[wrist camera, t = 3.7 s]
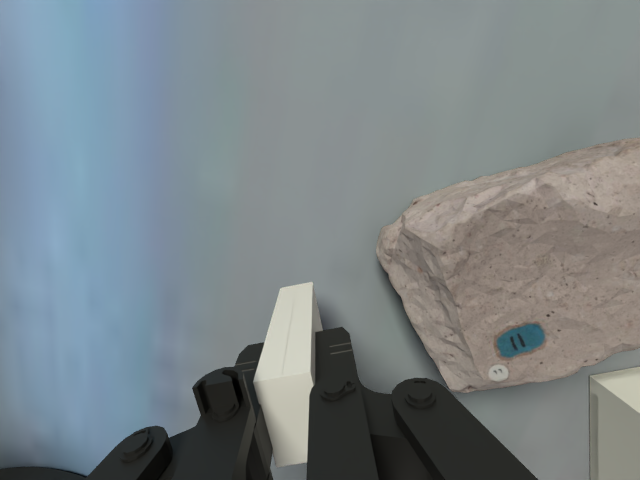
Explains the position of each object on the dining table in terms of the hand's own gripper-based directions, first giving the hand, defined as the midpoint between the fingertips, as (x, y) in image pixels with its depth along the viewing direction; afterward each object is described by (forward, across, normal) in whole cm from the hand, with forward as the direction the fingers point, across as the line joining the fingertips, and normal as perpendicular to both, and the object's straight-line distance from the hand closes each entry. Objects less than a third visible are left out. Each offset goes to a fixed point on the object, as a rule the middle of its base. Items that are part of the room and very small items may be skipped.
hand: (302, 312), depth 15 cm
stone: (+3, +11, 0) cm, 11 cm away
